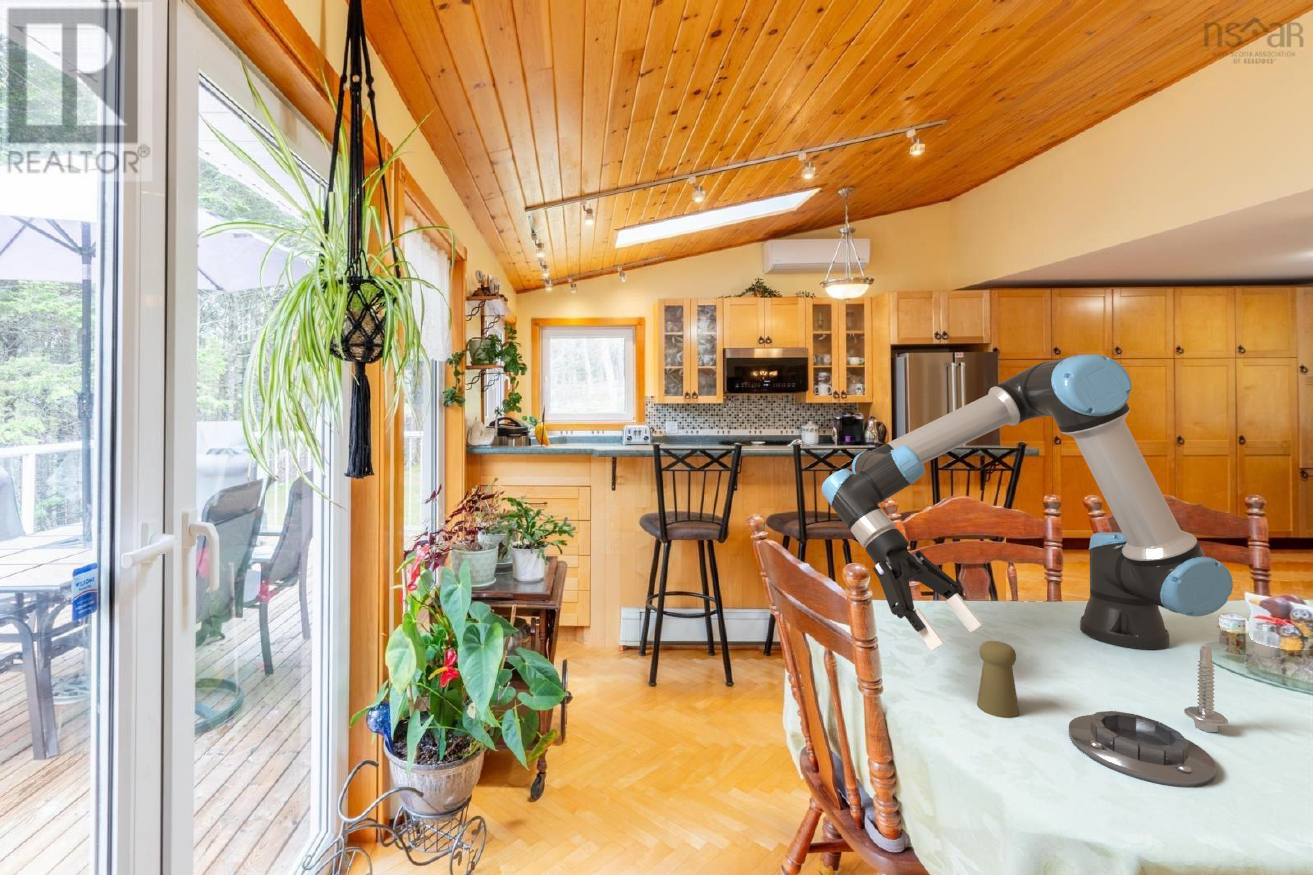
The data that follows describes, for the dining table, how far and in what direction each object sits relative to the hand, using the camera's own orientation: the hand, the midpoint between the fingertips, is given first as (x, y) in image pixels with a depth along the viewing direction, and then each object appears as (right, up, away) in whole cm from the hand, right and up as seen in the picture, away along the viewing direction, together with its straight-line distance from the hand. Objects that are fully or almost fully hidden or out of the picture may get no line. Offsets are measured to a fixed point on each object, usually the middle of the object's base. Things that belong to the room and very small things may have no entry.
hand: (958, 637), depth 98 cm
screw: (+32, -10, -11) cm, 36 cm away
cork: (+4, -11, -4) cm, 12 cm away
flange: (+17, -10, -17) cm, 26 cm away
